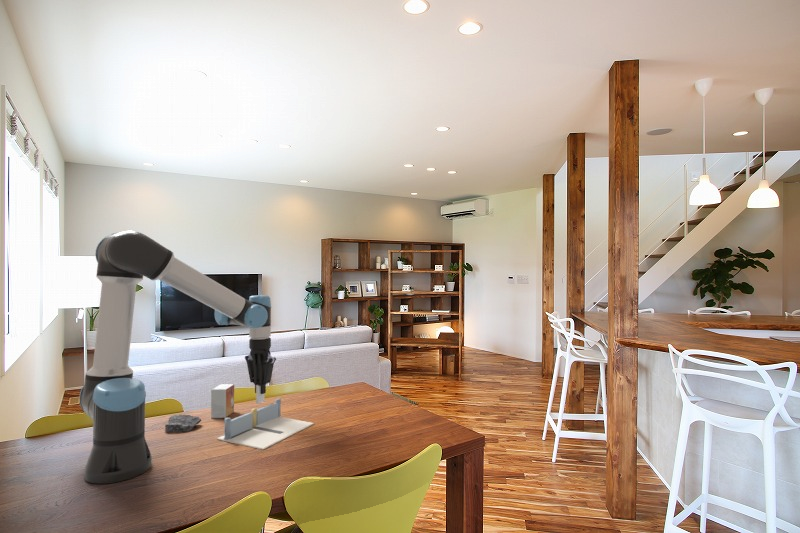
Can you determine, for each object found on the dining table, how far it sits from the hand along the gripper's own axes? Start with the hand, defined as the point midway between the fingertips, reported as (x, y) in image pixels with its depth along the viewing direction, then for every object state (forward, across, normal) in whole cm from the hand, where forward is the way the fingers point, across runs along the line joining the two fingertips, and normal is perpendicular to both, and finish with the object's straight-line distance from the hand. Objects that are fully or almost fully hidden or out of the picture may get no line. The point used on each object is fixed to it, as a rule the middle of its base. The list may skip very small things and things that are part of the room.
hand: (260, 402), depth 161 cm
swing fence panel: (+5, -6, +3) cm, 8 cm away
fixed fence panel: (+6, -6, +16) cm, 18 cm away
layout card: (+6, -12, +9) cm, 16 cm away
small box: (+6, +15, +3) cm, 17 cm away
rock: (+6, +17, +20) cm, 26 cm away
